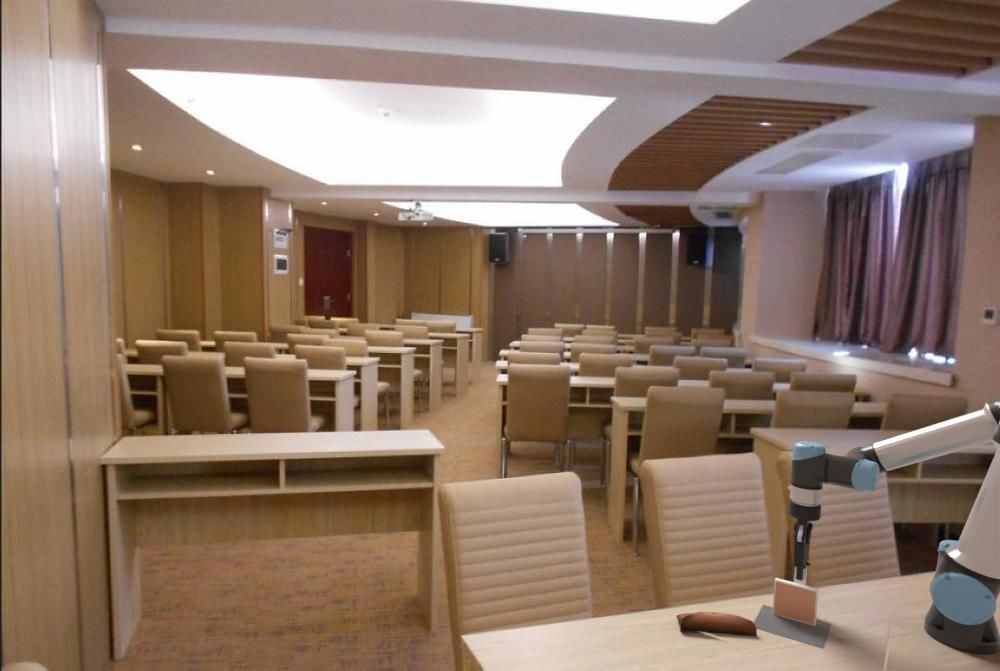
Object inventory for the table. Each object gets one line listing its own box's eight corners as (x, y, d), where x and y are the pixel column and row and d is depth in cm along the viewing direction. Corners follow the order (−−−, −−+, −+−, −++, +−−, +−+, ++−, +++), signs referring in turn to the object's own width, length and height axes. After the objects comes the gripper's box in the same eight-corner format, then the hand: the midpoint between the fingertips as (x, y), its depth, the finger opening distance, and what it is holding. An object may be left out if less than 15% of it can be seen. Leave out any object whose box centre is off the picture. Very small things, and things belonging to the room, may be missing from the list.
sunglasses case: (746, 620, 161) (752, 604, 157) (753, 647, 155) (758, 631, 152) (673, 614, 163) (677, 599, 159) (677, 641, 157) (681, 626, 153)
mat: (830, 626, 160) (830, 623, 160) (823, 651, 148) (823, 648, 148) (763, 606, 168) (763, 604, 168) (751, 629, 157) (751, 626, 157)
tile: (816, 623, 159) (818, 588, 159) (815, 626, 158) (817, 591, 157) (773, 611, 165) (775, 577, 164) (772, 614, 163) (774, 580, 163)
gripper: (794, 492, 173) (788, 577, 174) (784, 505, 162) (778, 595, 163) (824, 498, 168) (818, 585, 170) (817, 511, 158) (811, 604, 159)
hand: (799, 590), depth 167 cm, fingers closed
